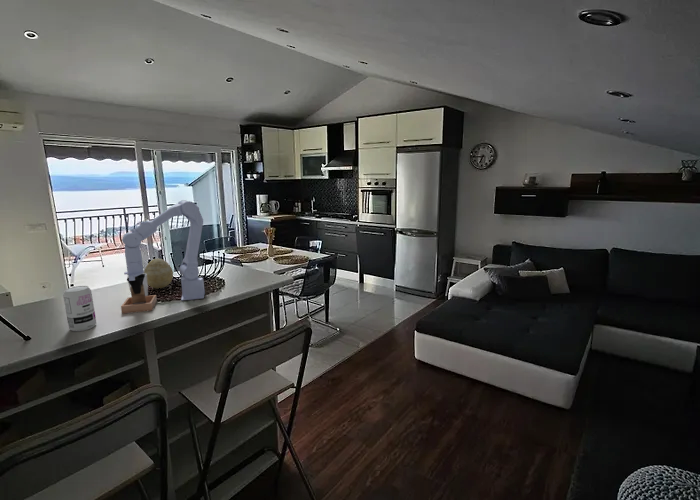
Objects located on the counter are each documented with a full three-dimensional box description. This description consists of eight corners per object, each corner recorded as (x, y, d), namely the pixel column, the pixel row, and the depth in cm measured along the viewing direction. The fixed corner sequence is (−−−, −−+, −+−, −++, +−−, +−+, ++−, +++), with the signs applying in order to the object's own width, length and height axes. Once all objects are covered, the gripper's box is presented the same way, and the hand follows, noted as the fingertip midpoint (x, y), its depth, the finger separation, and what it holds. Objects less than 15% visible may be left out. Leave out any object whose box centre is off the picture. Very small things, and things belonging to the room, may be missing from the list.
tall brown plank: (145, 300, 153) (143, 284, 151) (144, 301, 151) (142, 285, 149) (133, 301, 151) (131, 285, 150) (132, 303, 150) (130, 287, 148)
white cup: (140, 299, 162) (138, 278, 160) (125, 298, 163) (123, 277, 161) (153, 293, 169) (150, 273, 167) (139, 292, 171) (136, 272, 169)
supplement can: (78, 323, 136) (72, 285, 133) (101, 322, 136) (95, 285, 133) (63, 332, 128) (56, 292, 125) (88, 331, 128) (81, 292, 125)
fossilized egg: (155, 293, 169) (151, 263, 166) (140, 289, 176) (136, 259, 172) (179, 286, 180) (176, 257, 177) (164, 282, 186) (161, 254, 183)
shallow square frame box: (156, 301, 159) (156, 294, 158) (152, 310, 148) (151, 303, 148) (128, 304, 155) (127, 297, 154) (121, 313, 145) (120, 306, 144)
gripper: (127, 258, 153) (131, 288, 156) (118, 266, 140) (122, 299, 142) (146, 257, 155) (149, 286, 158) (138, 264, 142) (142, 297, 145)
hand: (138, 292), depth 150 cm, fingers closed on tall brown plank, 2 cm apart
